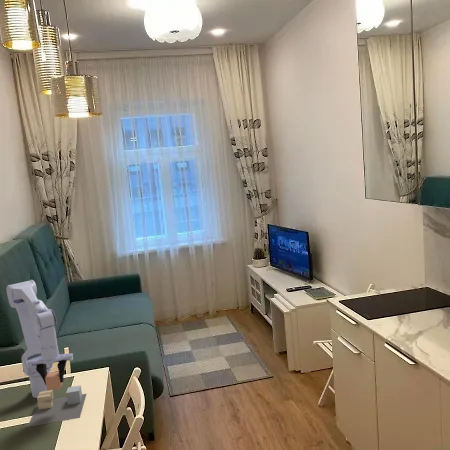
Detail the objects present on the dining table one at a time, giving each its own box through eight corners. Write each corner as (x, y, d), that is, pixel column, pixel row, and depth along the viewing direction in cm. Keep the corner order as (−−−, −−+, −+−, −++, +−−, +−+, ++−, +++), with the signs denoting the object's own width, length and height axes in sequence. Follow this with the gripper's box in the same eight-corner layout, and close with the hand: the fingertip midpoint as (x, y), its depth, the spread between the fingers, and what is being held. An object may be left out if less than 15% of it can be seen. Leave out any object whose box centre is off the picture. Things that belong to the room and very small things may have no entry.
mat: (39, 402, 177) (39, 401, 177) (86, 394, 179) (86, 393, 179) (27, 428, 159) (27, 426, 159) (79, 419, 162) (79, 417, 162)
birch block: (41, 403, 175) (39, 392, 174) (54, 401, 176) (52, 389, 175) (38, 409, 170) (36, 397, 170) (51, 407, 171) (50, 395, 171)
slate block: (69, 399, 176) (68, 387, 176) (82, 396, 177) (80, 385, 176) (67, 404, 172) (66, 392, 171) (80, 402, 173) (78, 390, 172)
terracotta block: (49, 385, 170) (47, 372, 169) (62, 382, 171) (61, 370, 170) (47, 390, 166) (45, 378, 165) (60, 388, 166) (58, 376, 166)
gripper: (24, 353, 161) (30, 391, 163) (68, 346, 163) (74, 384, 165) (29, 345, 168) (35, 382, 170) (71, 339, 170) (77, 375, 172)
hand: (54, 382), depth 168 cm, fingers closed on terracotta block, 4 cm apart
